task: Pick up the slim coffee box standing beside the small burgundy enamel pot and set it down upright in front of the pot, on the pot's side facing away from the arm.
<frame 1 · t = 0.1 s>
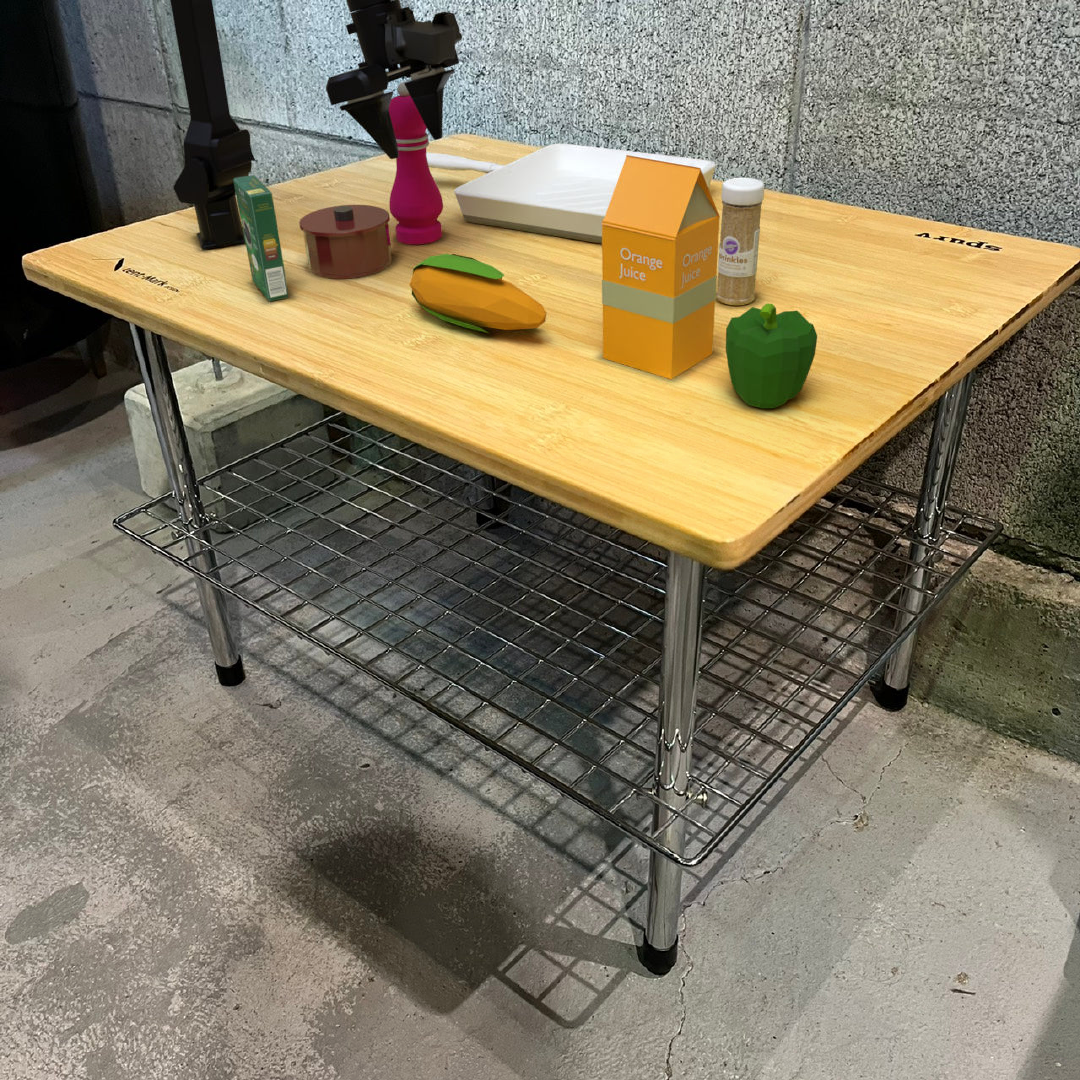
hand: (417, 148, 128), 15 cm above the table, tool pointing down, fingers open, 9 cm apart
corn: (482, 327, 123), on the table
bell pepper: (763, 398, 106), on the table
sprinkles bottle: (735, 300, 126), on the table
orange juice: (657, 357, 114), on the table
pot lid: (344, 222, 138), point 5 cm above the table, touching pot
pot: (350, 264, 141), on the table
pepper mill: (419, 238, 149), on the table
coffee box: (271, 292, 135), on the table
pan: (539, 202, 161), on the table
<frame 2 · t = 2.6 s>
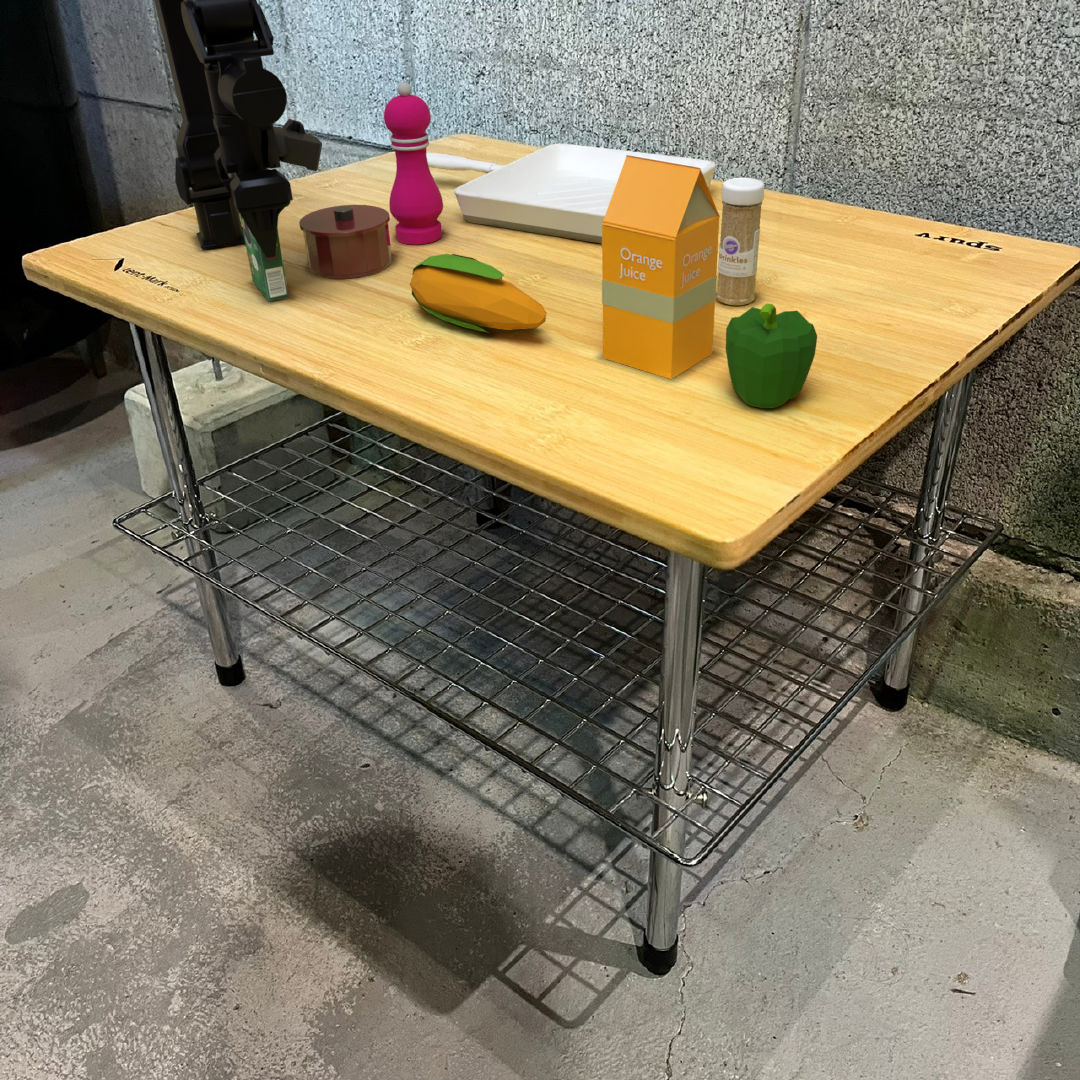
hand: (264, 245, 131), 6 cm above the table, tool pointing down
coffee box: (271, 292, 135), on the table, touching gripper
everything else where it was.
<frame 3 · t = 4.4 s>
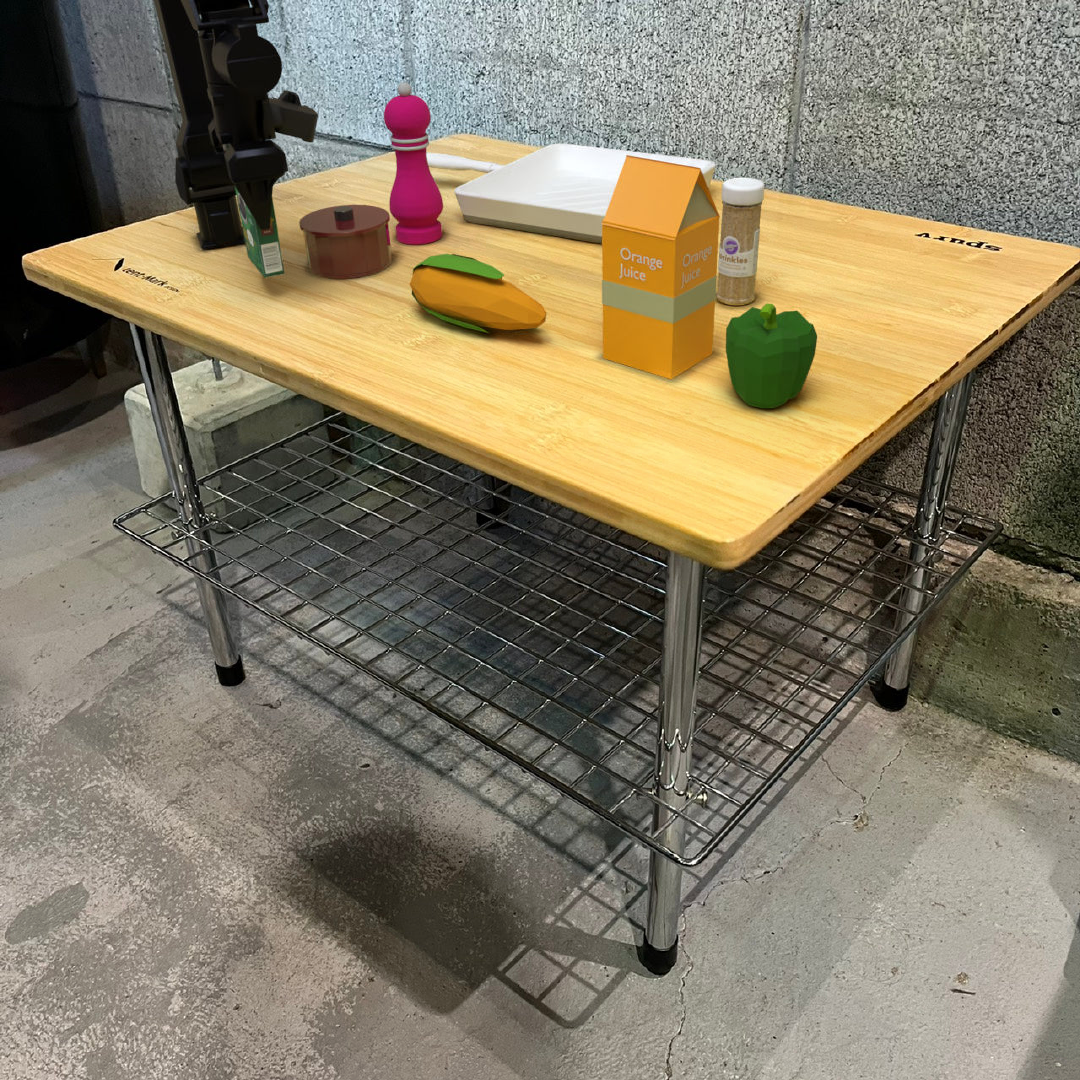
hand: (259, 219, 129), 9 cm above the table, tool pointing down, fingers closed on coffee box, 8 cm apart
coffee box: (267, 268, 133), point 3 cm above the table, touching gripper
everything else where it was.
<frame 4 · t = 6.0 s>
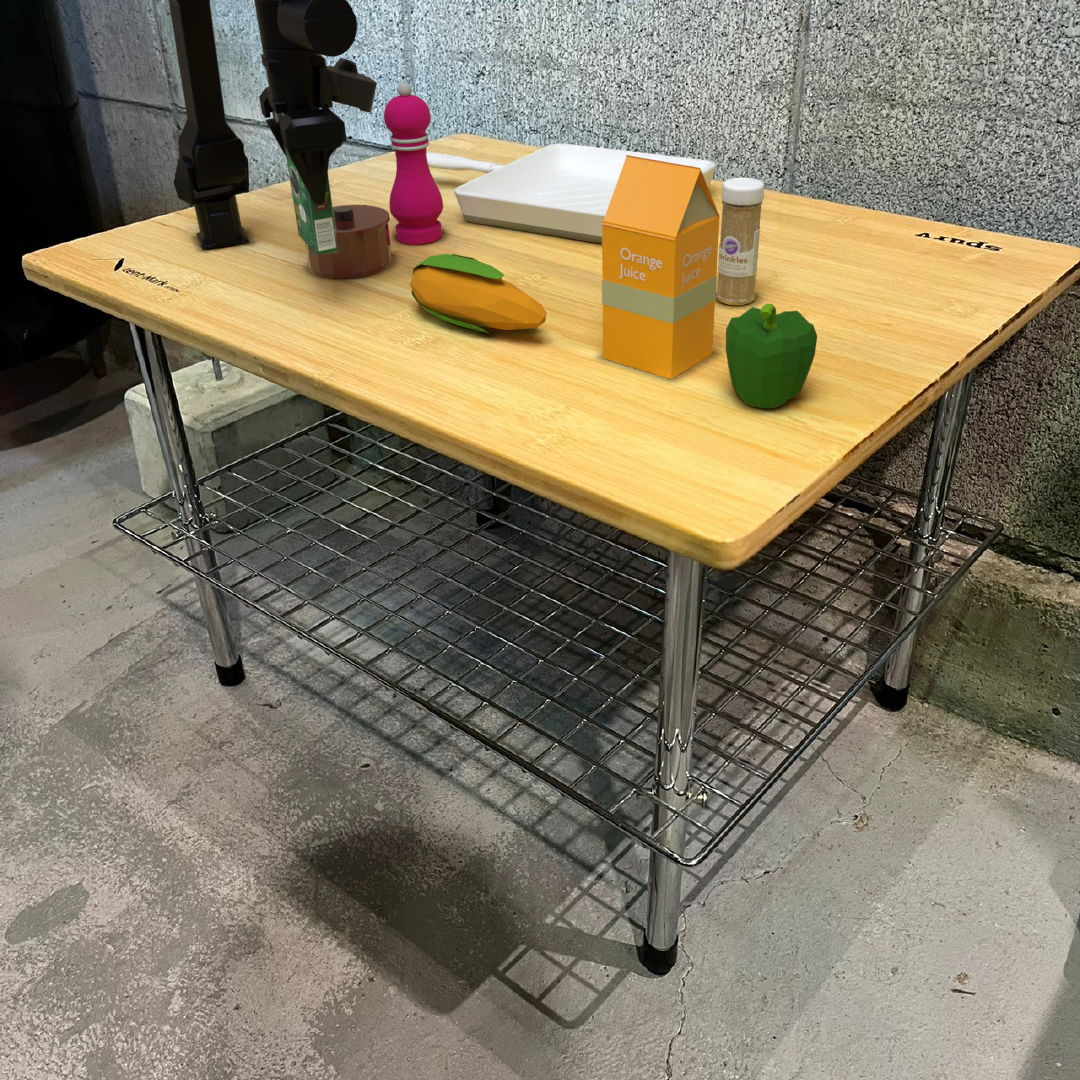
hand: (312, 193, 123), 13 cm above the table, tool pointing down, fingers closed on coffee box, 8 cm apart
coffee box: (319, 246, 127), point 7 cm above the table, touching gripper
everything else where it was.
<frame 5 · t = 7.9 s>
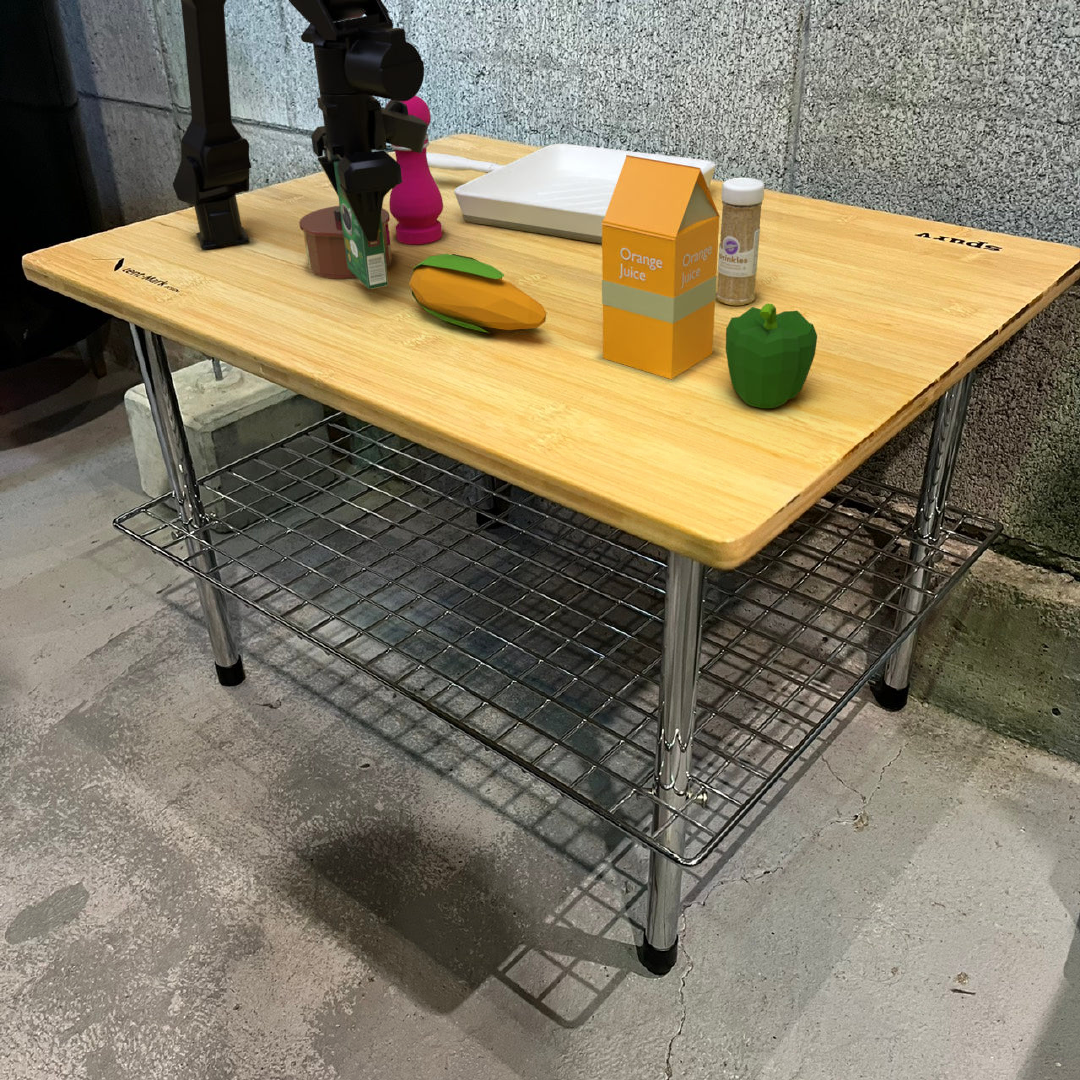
hand: (363, 230, 128), 8 cm above the table, tool pointing down, fingers closed on coffee box, 8 cm apart
coffee box: (368, 279, 131), point 2 cm above the table, touching gripper
everything else where it was.
when the fingers open (6 cm above the table, at t = 9.1 s): coffee box stays where it is, on the table.
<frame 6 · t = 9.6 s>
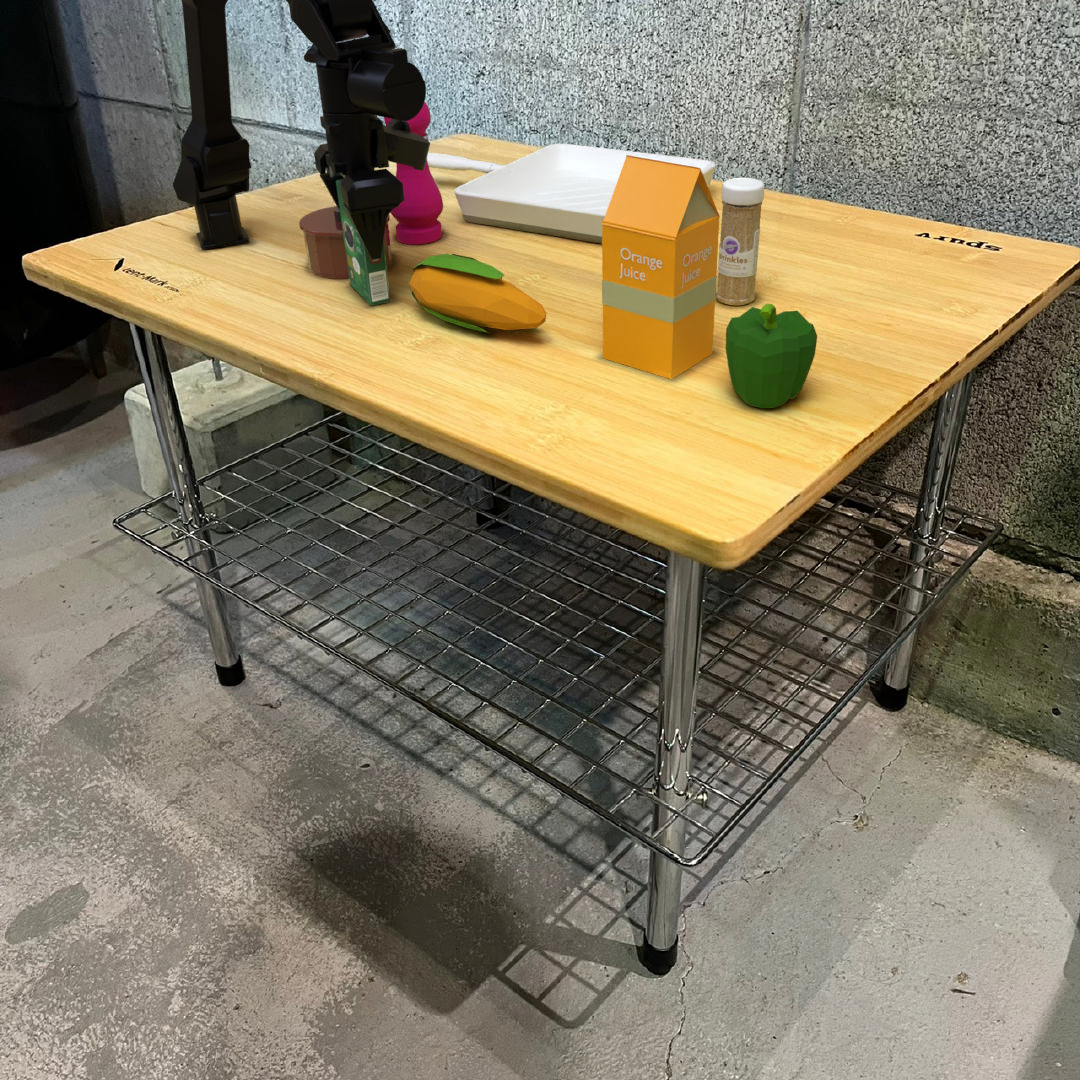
hand: (366, 246, 129), 6 cm above the table, tool pointing down, fingers open, 9 cm apart
coffee box: (371, 296, 132), on the table
everything else where it was.
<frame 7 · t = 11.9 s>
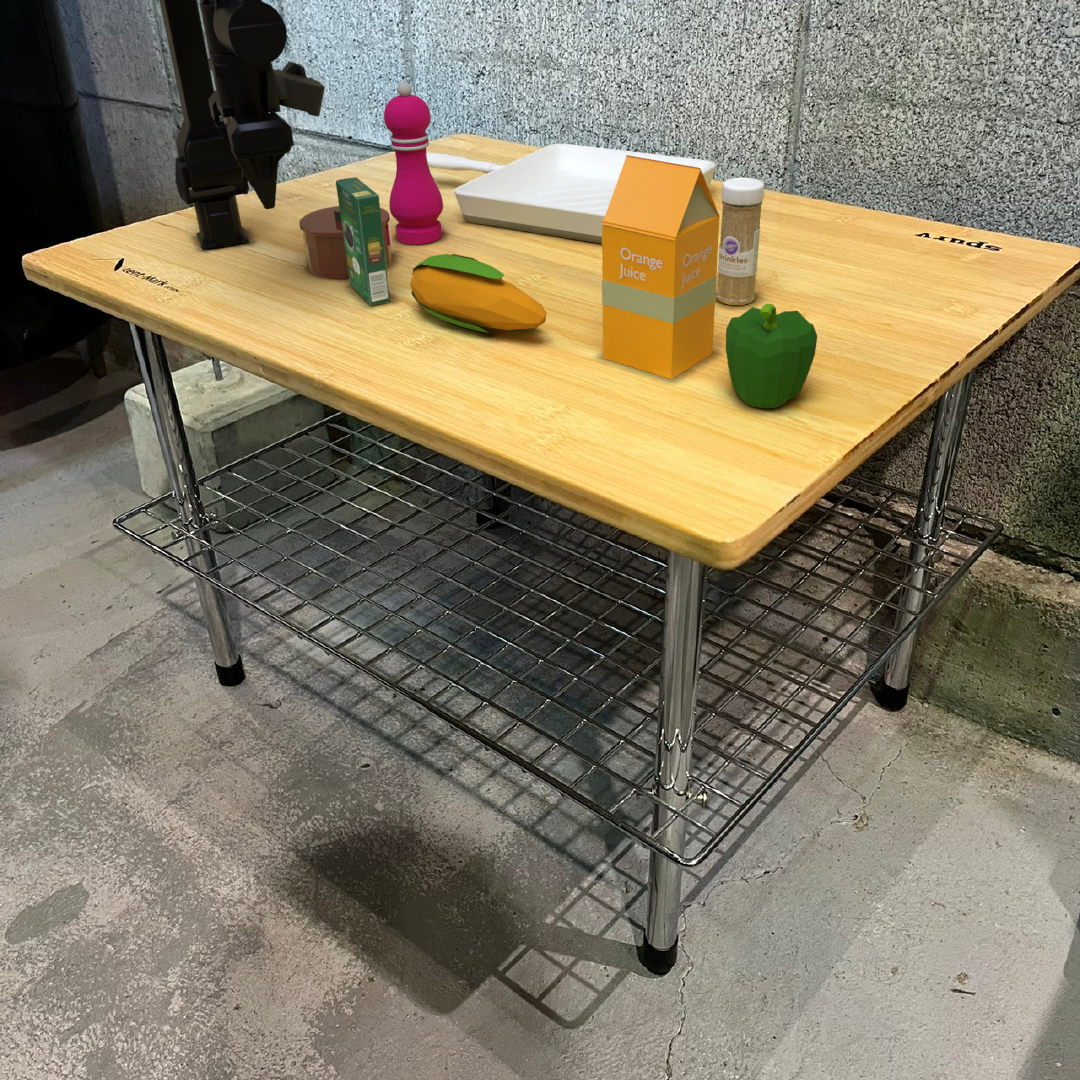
hand: (262, 197, 124), 13 cm above the table, tool pointing down, fingers open, 9 cm apart
nothing on the table moved.
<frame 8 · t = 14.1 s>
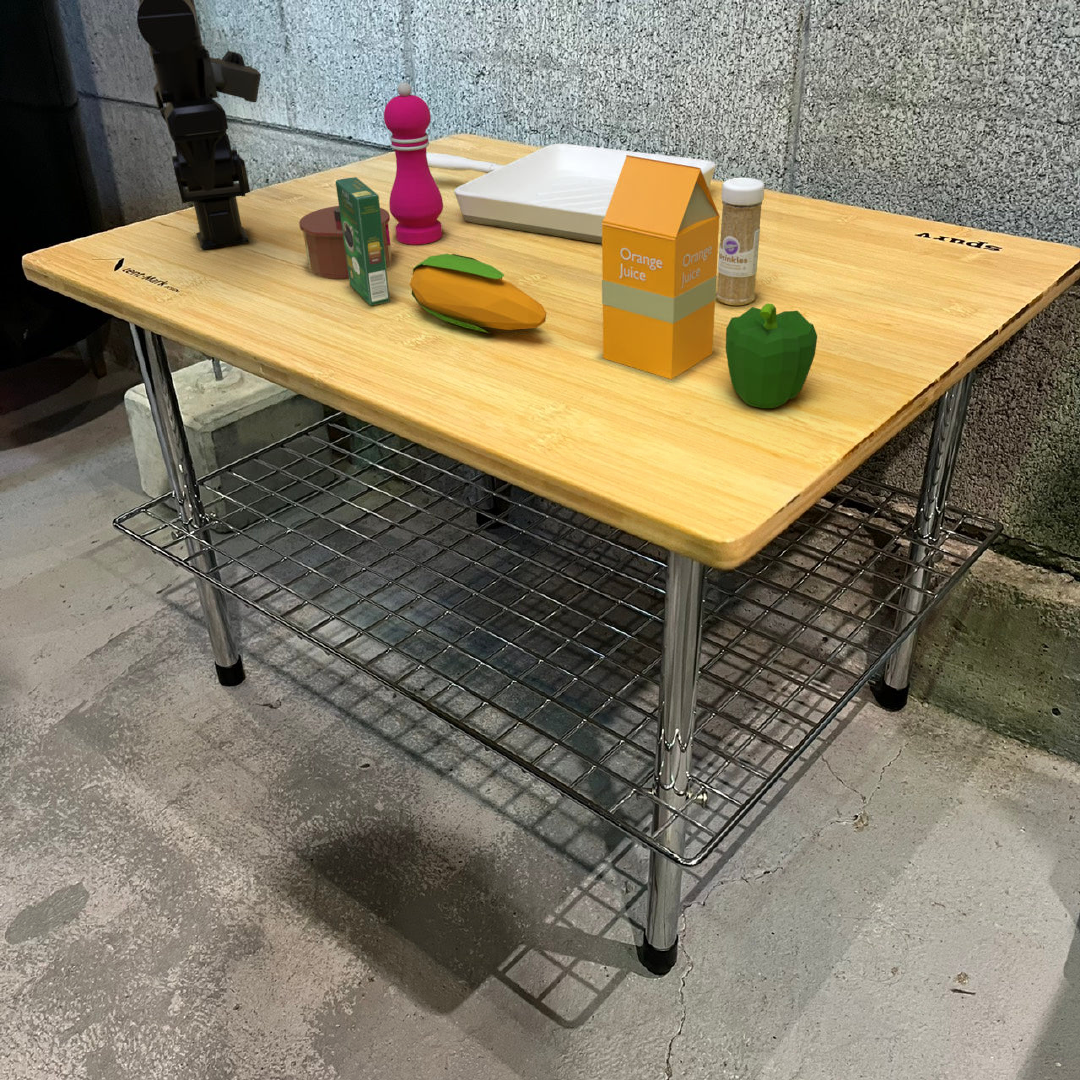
hand: (204, 180, 130), 13 cm above the table, tool pointing down, fingers open, 9 cm apart
nothing on the table moved.
at the end: coffee box inside the target area on the table beside the pot (0.4 cm from its centre), on the table; coffee box tilted 0°; the gripper is holding nothing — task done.
